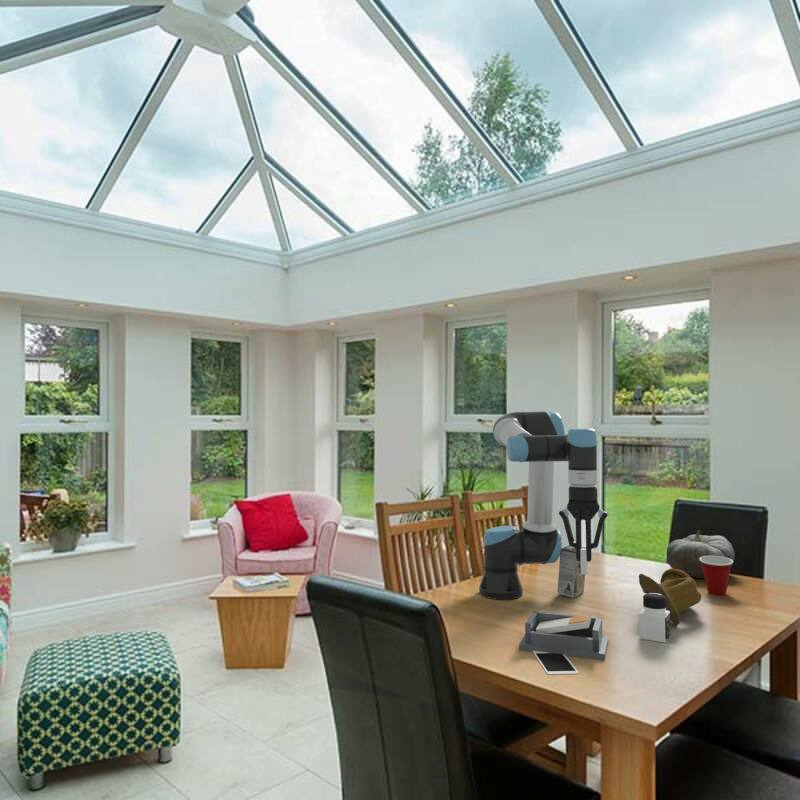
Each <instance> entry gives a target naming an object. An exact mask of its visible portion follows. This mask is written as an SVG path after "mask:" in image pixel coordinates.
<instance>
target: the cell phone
mask: <svg viewBox="0 0 800 800" xmlns="http://www.w3.org/2000/svg"><path fill="white" fill-rule="evenodd" d="M532 654H534V656H535V658H536V659H537V660H538V661H537V662H539V664H540V665H541V666H542V668H543V670H544V671H545V673H546V674H547V675H548V674H549V675H551V676H554V675H553V674H565V675H577V674H576V673H579V674H580V672H579V671H578V670H577V668H576V667H575V665H574V664H573V663H572V662H571V660H570V659H569V658H568V656H566V655H564V654H556V653H547V652H539V651H532Z"/></svg>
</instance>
